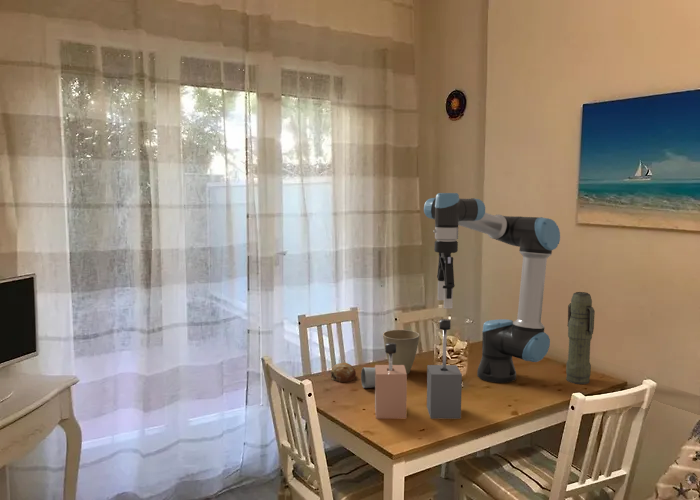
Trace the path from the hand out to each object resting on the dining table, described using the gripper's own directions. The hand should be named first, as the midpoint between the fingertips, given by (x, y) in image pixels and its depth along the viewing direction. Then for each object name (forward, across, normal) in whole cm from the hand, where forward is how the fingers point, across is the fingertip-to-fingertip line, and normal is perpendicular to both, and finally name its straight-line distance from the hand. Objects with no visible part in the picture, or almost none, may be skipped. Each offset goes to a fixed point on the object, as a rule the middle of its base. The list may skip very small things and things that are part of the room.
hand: (444, 304), depth 192 cm
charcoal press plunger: (+28, 0, 0) cm, 28 cm away
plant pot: (+38, -43, -11) cm, 58 cm away
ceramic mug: (+38, -27, -23) cm, 52 cm away
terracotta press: (+37, -1, -18) cm, 41 cm away
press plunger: (+36, 0, -18) cm, 40 cm away
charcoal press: (+37, -2, 0) cm, 37 cm away
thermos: (+37, -33, +58) cm, 77 cm away
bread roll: (+38, -36, -34) cm, 62 cm away
